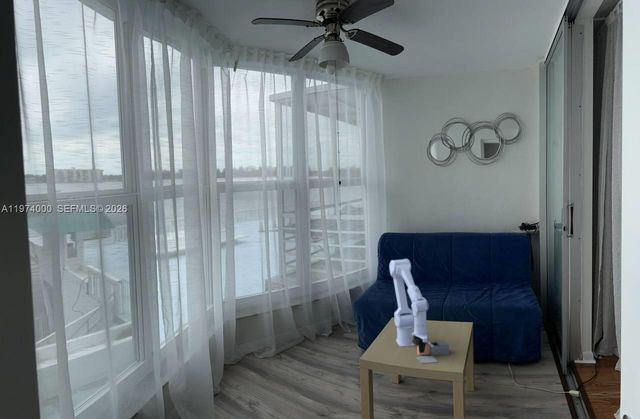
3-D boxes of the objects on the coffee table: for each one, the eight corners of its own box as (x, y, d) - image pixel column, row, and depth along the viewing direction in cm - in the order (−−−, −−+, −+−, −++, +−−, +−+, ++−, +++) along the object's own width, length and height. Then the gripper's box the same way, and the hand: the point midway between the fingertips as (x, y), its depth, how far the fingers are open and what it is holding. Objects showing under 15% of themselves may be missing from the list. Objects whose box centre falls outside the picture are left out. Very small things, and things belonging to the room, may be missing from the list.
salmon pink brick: (417, 353, 210) (417, 345, 209) (433, 352, 210) (433, 344, 210) (418, 355, 208) (418, 347, 207) (434, 353, 208) (434, 345, 208)
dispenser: (427, 351, 212) (426, 341, 212) (444, 349, 213) (444, 339, 213) (431, 355, 206) (431, 345, 206) (449, 354, 207) (449, 344, 207)
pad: (416, 357, 205) (416, 356, 205) (432, 356, 206) (432, 355, 206) (421, 363, 198) (421, 362, 198) (437, 362, 199) (437, 361, 199)
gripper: (407, 319, 215) (408, 346, 216) (416, 329, 200) (417, 357, 201) (421, 319, 215) (422, 345, 216) (431, 328, 201) (432, 356, 202)
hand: (420, 351), depth 209 cm, fingers closed on salmon pink brick, 2 cm apart
